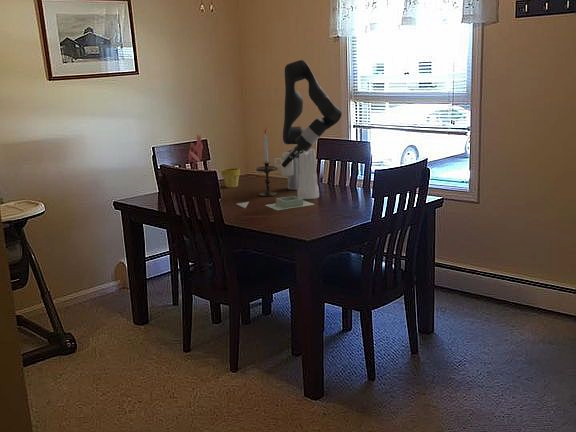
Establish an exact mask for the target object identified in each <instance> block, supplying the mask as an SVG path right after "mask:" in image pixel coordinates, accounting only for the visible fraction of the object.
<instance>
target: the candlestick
mask: <svg viewBox="0 0 576 432" xmlns="http://www.w3.org/2000/svg"><path fill="white" fill-rule="evenodd" d="M263 132H264V135H263V153H264V162H263V164H264V166H259V167H256V171H257V172H263V173H264V174H265V180H264V183H265V187H266V190H265V191H264V192H260V193H259V197H261V198H273V197H277V196H278V193H277V192H275V191H271V190H270V187H271V185H270V183H271V180H270V179H269V173H271V172H274V171H277V170H278V167H275V165H269V164H271V162H269V150H268V149H269V147H268V145H269V144H268V136H267V134H266V132H267V128H265V129H264V131H263Z"/></svg>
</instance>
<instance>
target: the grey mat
mask: <svg viewBox="0 0 576 432" xmlns="http://www.w3.org/2000/svg"><path fill="white" fill-rule="evenodd" d="M249 203H250V201H246V202H237V203H236V206H237V207H241V208H242V209H246V208H247V206H248V205H249Z"/></svg>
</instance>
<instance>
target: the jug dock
mask: <svg viewBox="0 0 576 432" xmlns="http://www.w3.org/2000/svg"><path fill="white" fill-rule="evenodd" d="M314 205H316V204H315V203H312V202H310V201H307V200H305V199H302V198H299V197H298V196H296V195H289V196H282V197H276V198H275V203H270V204H265V205H264V206H266V207H268V208H270V209H273V210H275V211H281V210H282V211H283V210H288V209H293V208H301V207H308V206H314Z"/></svg>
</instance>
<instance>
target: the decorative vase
mask: <svg viewBox="0 0 576 432" xmlns="http://www.w3.org/2000/svg"><path fill="white" fill-rule="evenodd" d="M316 163H317V161H316V149H315V148H310V149H309V150H308V151H304V152H303V153H302V154H300V155H299V166H300V174H299V187H298V190H296V191H297V193H296V194H297V197H299V198H302V199H303V200H312V199H313V200H315V199H318V198H320V189H319V185H318V174H317V164H316Z"/></svg>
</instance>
